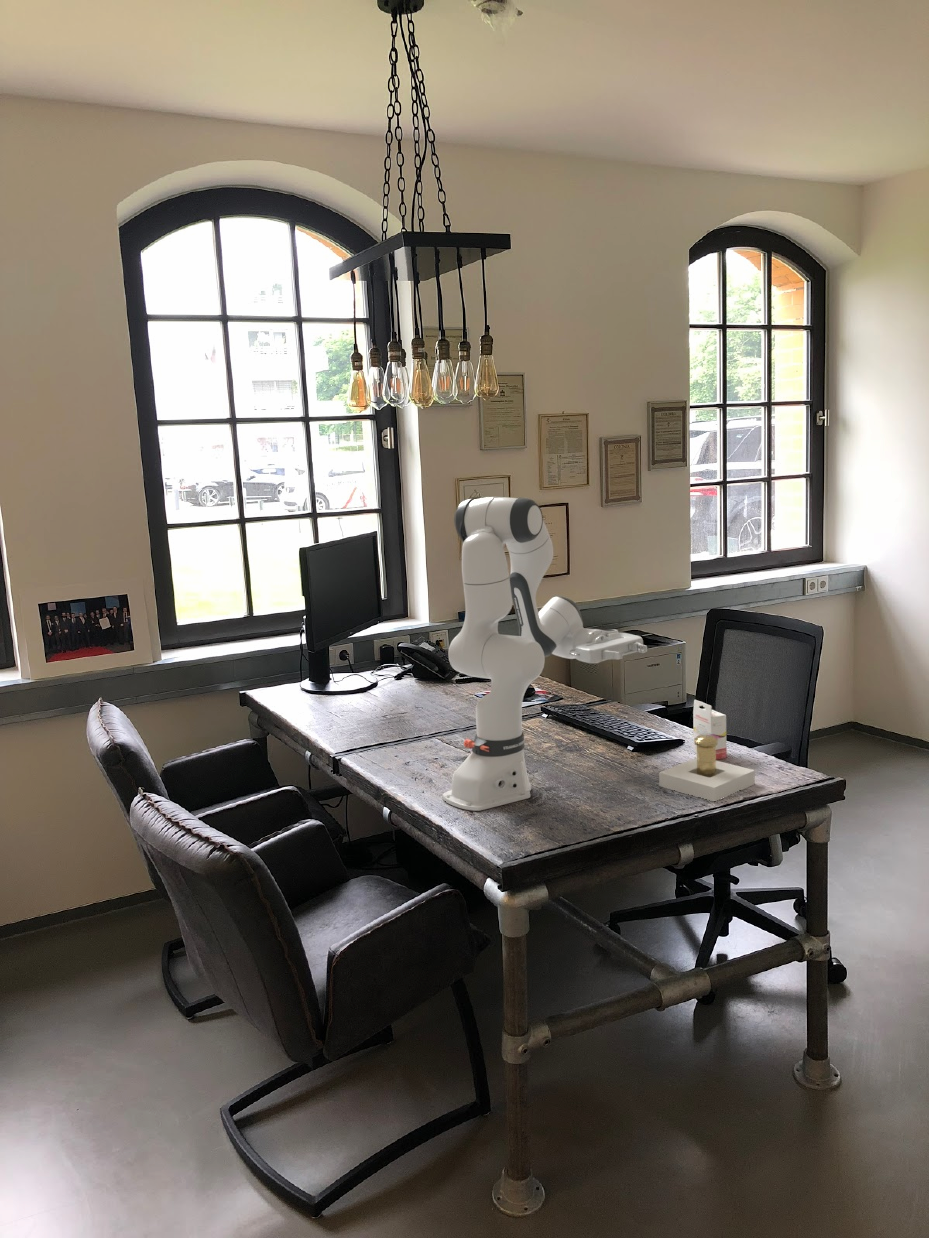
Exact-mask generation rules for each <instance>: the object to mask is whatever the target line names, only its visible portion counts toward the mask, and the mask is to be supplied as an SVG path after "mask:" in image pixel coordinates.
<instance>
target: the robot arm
mask: <svg viewBox="0 0 929 1238" xmlns="http://www.w3.org/2000/svg"><path fill="white" fill-rule="evenodd" d="M543 519H544V516H543V512H542V509H541V507H540V505H539V504H538V503H537V502H536V501H535V500H533V499H530V498H526V497H518V498H517V497H509V496H507V497H504V496H503V497H502V496H488V497H486V496H485V497H481V498H478V497H472V498H469V499H465V500H463V501H461V502H460V503H459V505H458V506H457V508H456V510H455V512H454V519H453V520H454V522H453V524H454V528H455V530H456V533H457V535H458V537H459V538H460V539H461V542H462V547H461V577H462V585H463V586H462V587H463V595H464V604H465V605H464V606H465V617H464V620H463V621H464V622H463V625H462V628H461V629H460V631H459V632H458V634H456V636H455V637H454V638H453V639H452V640H451V642H450V644H449V647H448V650H447V651H448V653H447V654H448V661H449V664H450V667H452V669H454V670H455V671H456V672H459V673H461V674H462V675H466V676H468V677H472V678H473V677H474V678H480V679H489V680H491V687H490V692H489V693H487V694H485V695H483V696H482V697H481V698H480V699H479V700H478V701H477V703H476V705H475V724H476V725H475V726H476V734H475V736H474V740H471V739H468V738H466V739H464V741H463V746H464V747H465V748H468V749H471V752H470V754H469V755H468V756H467V757H466V758H465V760H464V761H463V762H462V763H461V764H460V765H459V767H458V768H457V769H456V770H454V772H453V775H452V778H451V789H450V790H447V791H446V792H444V793H442V797H443V798H442V800H443V801H444V802H445V801H446V802H445V803H447V804H449V805H452V806H453V807H456V808H459V809H463V810H467V811H475V812H476V811H477V812H479V811H484V810H488V809H492V808H496V807H499V806H503V805H508V804H511V803H515V802H519V801H522V800H527V799H529V798H531V790H532V785H531V783H530V779H529V776H528V773H527V766H526V761H525V753H524V749H525V747H526V745H525V742H526V741H525V733H524V732H523V726H522V725H523V723H522V721H523V719H522V717H523V714H522V710H523V709H522V708H523V707H522V706H523V701H524V696H525V693H526V691H527V689H528V687H529V686H530V685H531V683H533V682H534V681H535V680H536V679H537V678H539V676H540V675H541V674H542V672H543V669H544V667H545V660H546V659H545V658H548V657H550V656H552V655H554V656H556V657H560V658H563V659H569V660H573V659H576V660H577V661H579V662H583V663H586V664H599V663H601V662H604V661H607V660H618V661H619V660H621V659H622V660H623V658H624V656H626V655H627V656H628V655H632V654H635V653H641V654H644V653H648V645H645V644H644V640H643V638H642V637H641V636H640V635H635V634H632V633H627V632H619V629H615V628H614V629H598V628H586V627H585V628H584V621H583V617H582V614H581V610H580V607H579V606H578V604H577V603H576V602H574V601H573V600H572V599H570V598H568V597H566V596H565V597H564V596H558V595H557V596H553V597H551V598H550V599H549V600H548V602H546V603H545V604H544V605H543V606H542V607H541V609H540V610H539V609H538V605H537V600H536V596H537V591H538V588H539V586H540V585H541V582H542V580H543V578H544V576H545V575H546V573H547V571H548V569H549V568H550V566H551V564H552V562H553V559H554V545H553V541H552V538H551V536H550V532H549V531H548V527H547V526H546V524H545V521H544V520H543ZM504 545H506V546H505V547H506V548H507V551H508V554H509V561H510V573H509V564H508V560H507V557H506V553H505V548H504ZM513 607H514V613H515V616H516V620H517V626H518V635H512V634H511V635H510V634H502V633H501V634H500V632H499V630H498V629H499V628H498V627H499V621H501V620H503V619H504V618H505V617H506V616H507V615H509V614H510V612H511V610H512V608H513Z"/></svg>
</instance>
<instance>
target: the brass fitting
mask: <svg viewBox="0 0 929 1238" xmlns="http://www.w3.org/2000/svg"><path fill="white" fill-rule="evenodd" d="M694 743H695V745H697V754H696V758H697V774H698V775H701V776H705V777H709V778H710V777H713V776H715V775H716V761H717V760H716V745H717V744H718V739H717V738H715V736H712V735H699V736H697V737H696V738H695V739H694V738H693V744H694Z"/></svg>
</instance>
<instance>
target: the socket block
mask: <svg viewBox="0 0 929 1238" xmlns="http://www.w3.org/2000/svg"><path fill="white" fill-rule="evenodd" d="M755 771H756V770H755V769H752V768H747V767H743V766H739V765H736V764H735V765H734V764H731V763H727V762H722V761H720V760H716V775H715V776H713V777H710V778H709V777H705V776H701V775H698V774H697V757H695V758H692V759H690V760H688V761H685V762H682V763H680V764H678V765H675V766H672V767H670V768H667V769H664V770H662V771H659V772H658V780H659V781H658V782H659V783H658V784H659V787H660V788H664V789H666V790H667V789H668V790H672V791H674V790H675V792H677V793H678V792H679V793H682V794H685V795H688V794H689V796H691V795H693V796H692V797H696V798H698V797H702V798H704V799H703V800H705V799H707V800H706V801H709V800H710V801H709V802H712V801H716V802H718V801H720V800H719V799H721V798H723V797H725V798H727V797H729V796H731V795H730V794H732V795H734V794H736V793H738V792H740V791H739V790H741V791H742V790H745V789H748V788H750V787H751V786H754V785H755V784H756V776H755V775H756V772H755ZM737 791H738V792H737ZM735 792H736V793H735ZM733 793H734V794H733ZM728 795H729V796H728ZM702 798H701V799H702ZM723 799H724V798H723ZM717 800H718V801H717ZM721 800H722V799H721Z"/></svg>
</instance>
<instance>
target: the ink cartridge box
mask: <svg viewBox="0 0 929 1238" xmlns="http://www.w3.org/2000/svg"><path fill="white" fill-rule="evenodd" d="M700 707H703V708H700ZM692 714H693V715H692V718H693V721H692V722H693V725H692V726H693V740H694V739H695V738H696V737H697V736H699V735H712V736H715V738H717V739H718V744H717V745H716V761H719V760H722V759H727V756H728V755H727V752H728V751H727V715H726V714H724V713H721V712H720V711H719V712H718V711H716V710H714V709H713V706H712V705H710V704H707V703H705V702H703V701H700V700H697V699H694V700H693V711H692ZM693 753H694V754H696V755H697V745H695V743H694V742H693Z"/></svg>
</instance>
